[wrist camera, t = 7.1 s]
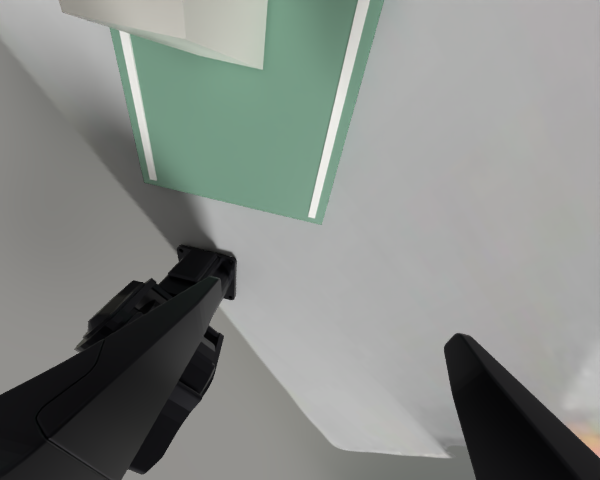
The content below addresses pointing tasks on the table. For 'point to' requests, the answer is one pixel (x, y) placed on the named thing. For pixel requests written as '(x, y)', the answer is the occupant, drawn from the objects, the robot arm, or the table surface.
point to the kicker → (186, 24)
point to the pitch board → (252, 108)
